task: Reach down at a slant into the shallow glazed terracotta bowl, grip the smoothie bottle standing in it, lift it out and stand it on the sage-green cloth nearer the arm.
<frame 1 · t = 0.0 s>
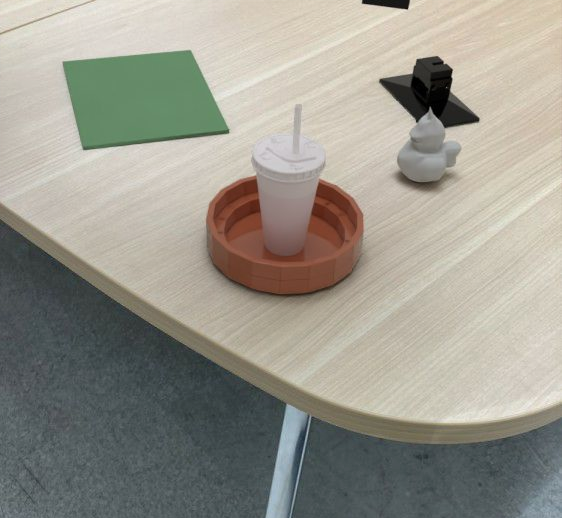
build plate: (427, 102, 94), on the table
smoothie: (283, 245, 74), resting on bowl
rubber duck: (424, 178, 83), on the table
bowl: (283, 247, 74), on the table
cloth: (141, 96, 92), on the table
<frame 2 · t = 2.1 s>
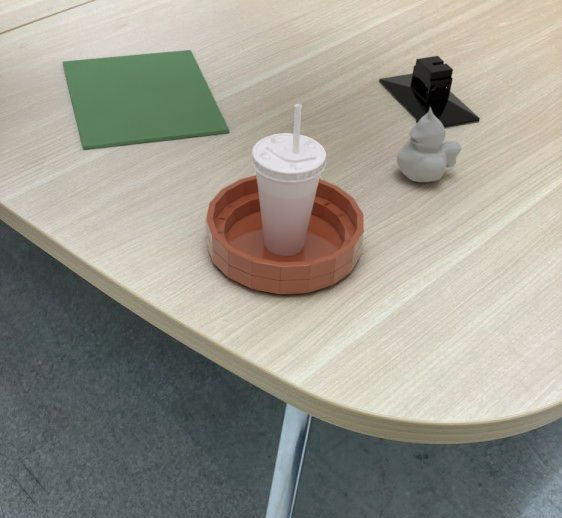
nothing on the table moved.
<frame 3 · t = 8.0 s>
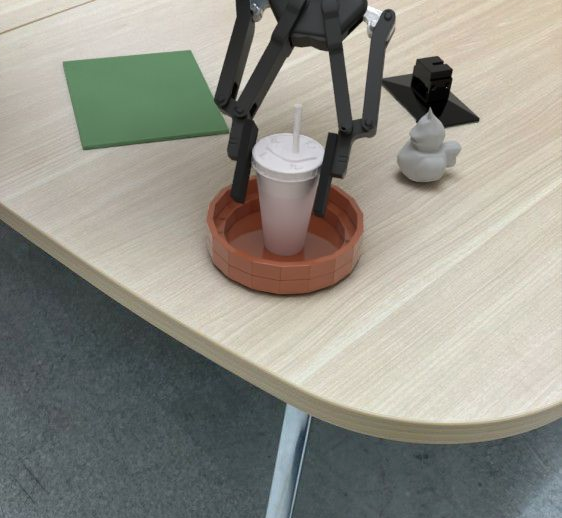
hand: (277, 206, 66), 7 cm above the table, tool tilted 45°, fingers closed on smoothie, 6 cm apart
smoothie: (283, 245, 74), resting on bowl, touching gripper
everything else where it was.
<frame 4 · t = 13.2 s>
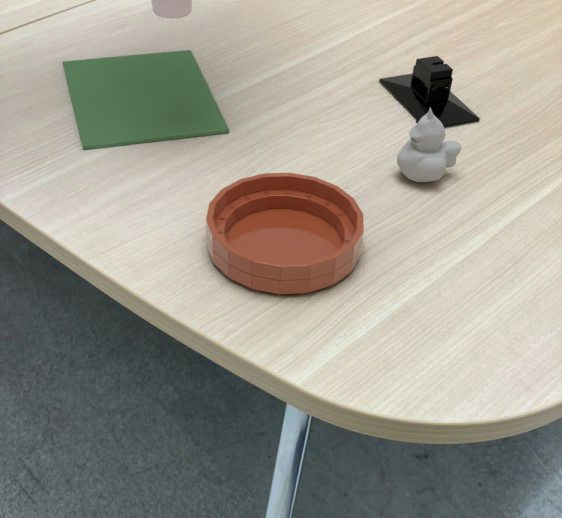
smoothie: (172, 12, 76), point 14 cm above the table, touching gripper
everything else where it was.
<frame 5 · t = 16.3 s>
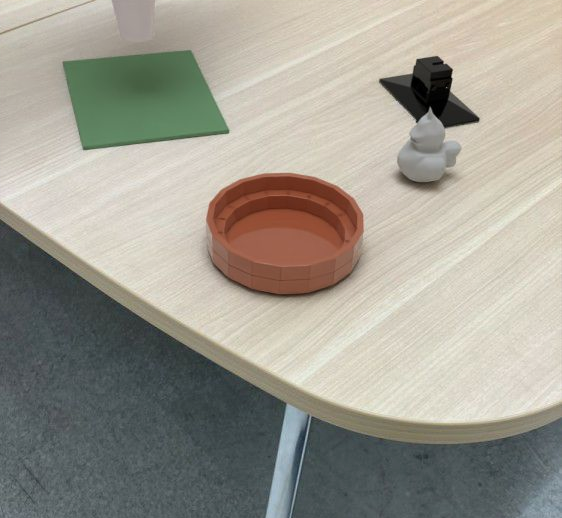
smoothie: (136, 37, 87), point 7 cm above the table, touching gripper
everything else where it was.
when the fingers open (7 cm above the table, at t = 18.6 s): smoothie stays where it is, resting on cloth.
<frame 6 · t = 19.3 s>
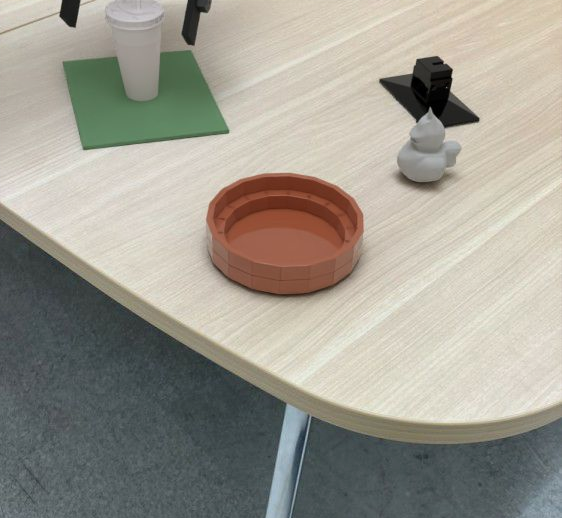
hand: (127, 31, 84), 9 cm above the table, tool tilted 45°, fingers open, 13 cm apart
smoothie: (142, 94, 92), resting on cloth
everything else where it was.
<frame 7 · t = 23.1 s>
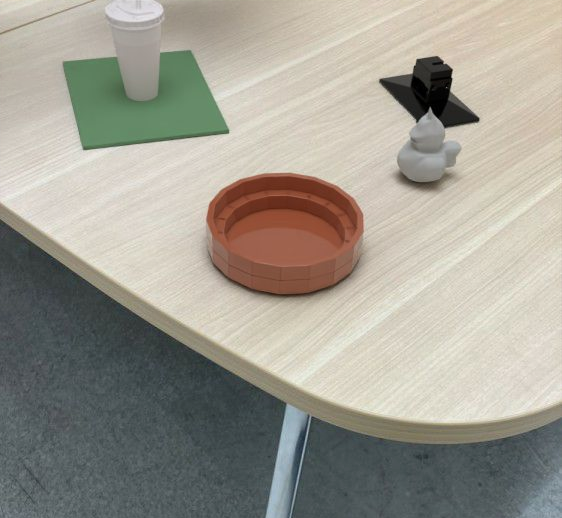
nothing on the table moved.
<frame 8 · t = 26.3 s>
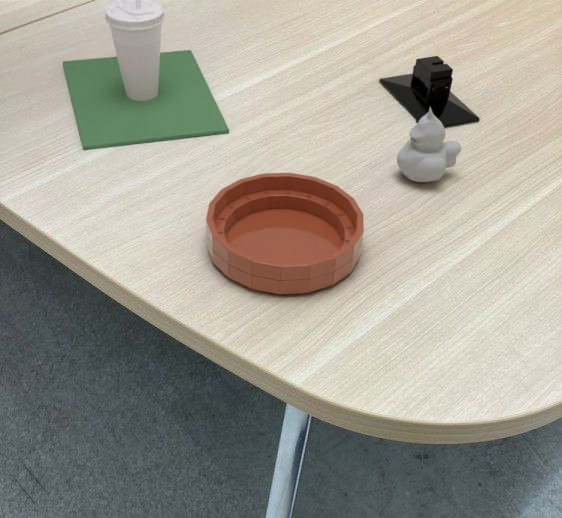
nothing on the table moved.
at the end: smoothie inside the target area on the cloth (0.1 cm from its centre), point 0.2 cm above the cloth's base; smoothie tilted 0°; the gripper is holding nothing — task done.
